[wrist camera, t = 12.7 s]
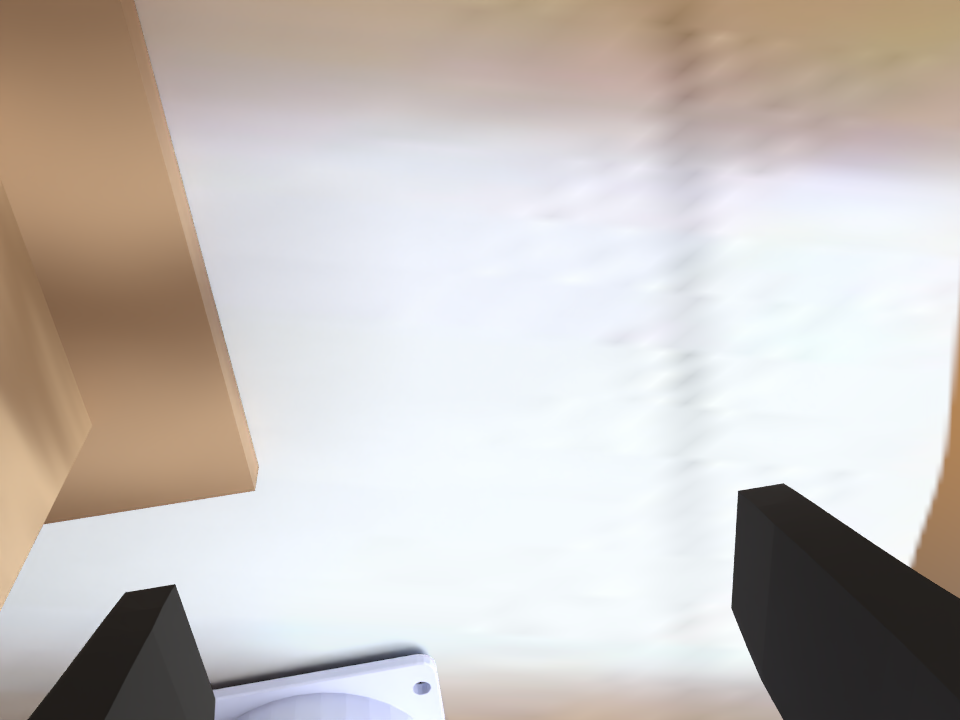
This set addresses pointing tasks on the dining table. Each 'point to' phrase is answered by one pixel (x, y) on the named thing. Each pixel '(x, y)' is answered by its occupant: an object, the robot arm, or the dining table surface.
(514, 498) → the dining table surface
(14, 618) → the dining table surface
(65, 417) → the light wood block
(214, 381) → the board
